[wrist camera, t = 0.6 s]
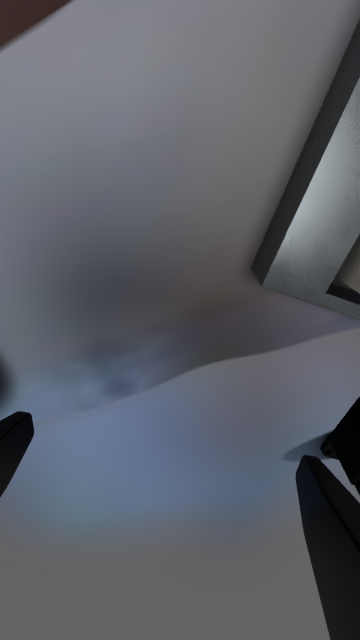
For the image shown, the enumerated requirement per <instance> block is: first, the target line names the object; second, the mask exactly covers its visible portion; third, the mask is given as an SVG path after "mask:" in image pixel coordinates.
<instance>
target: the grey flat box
mask: <svg viewBox="0 0 360 640" xmlns="http://www.w3.org/2000/svg"><path fill="white" fill-rule="evenodd" d="M359 234H360V20H359V23H358V25H357V27H356V29H355V32H354V34H353V36H352V39H351V41H350V43H349V45H348V48H347V50H346V52H345V55H344V57H343V59H342V61H341V64H340V66H339V68H338V71H337V73H336V75H335V77H334V80H333V82H332V84H331V87H330V89H329V91H328V93H327V96H326V98H325V100H324V102H323V105H322V107H321V109H320V112H319V114H318V116H317V118H316V121H315V123H314V125H313V128H312V130H311V132H310V134H309V137H308V139H307V141H306V144H305V146H304V148H303V150H302V153H301V155H300V157H299V159H298V162H297V164H296V166H295V169H294V171H293V173H292V175H291V178H290V180H289V182H288V185H287V187H286V189H285V191H284V194H283V196H282V198H281V201H280V203H279V205H278V207H277V210H276V212H275V214H274V216H273V219H272V221H271V223H270V226H269V228H268V230H267V232H266V235H265V237H264V239H263V242H262V244H261V246H260V248H259V251H258V253H257V255H256V258H255V260H254V262H253V264H252V267H251V269H252V271H253V272H254V274H255V276H256V278H257V279H258V281H259V283H260V285H261V286H262V287H265V288H268V289H271V290H273V291H276V292H279V293H282V294H285V295H288V296H291V297H294V298H297V299H300V300H303V301H306V302H309V303H312V304H315V305H318V306H320V307H323V308H326V309H329V310H332V311H335V312H338V313H341V314H344V315H347V316H350V317H353V318H356V319H359V320H360V294H359V293H358V292H355V291H352V290H349V289H346V288H343V287H341V286H338V285H335V284H332V281H333V279H334V277H335V276H336V274H337V272H338V271H339V269H340V267H341V265H342V264H343V262H344V260H345V258H346V257H347V255H348V253H349V252H350V250H351V248H352V246H353V245H354V243H355V241H356V239H357V238H358V236H359Z"/></svg>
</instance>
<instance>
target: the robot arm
mask: <svg viewBox="0 0 360 640" xmlns="http://www.w3.org/2000/svg"><path fill="white" fill-rule="evenodd" d="M33 435H34V427H33V421H32V415H31V414H30V413H28V412H21V411H18V412H15V413H14V414H12V415H10V416H8V417H6V418H4V419H2V420H1V421H0V497H1V496H2V494H3V492H4V491H5V489H6V488H7V486H8V484H9V483H10V481H11V479H12V477H13V475H14V473H15V471H16V469H17V467H18V465H19V463H20V461H21V460H22V458H23V456H24V454H25V452H26V450H27V448H28V446H29V444H30V442H31V440H32V438H33ZM321 451H322V454H323V455H325V456H328V457H331V458H334V459H337V460H339V461H340V463H341V465H342V467H343V469H344V471H345V473H346V475H347V477H348V479H349V481H350V483H351V484H352V485H355V487H356V489H357V491H358V493H359V495H360V397H359V398H358V399H357V400H356V402H355V403H354V404H353V406H352V407H351V408H350V410H349V411H348V412H347V413H346V415H345V416H344V417H343V419H342V420H341V421H340V423H339V424H338V425H337V426H336V428H335V429H334V430H333V432H332V433H331V434H330V436H329V437H328V438H327V439H326V441H325V442H324V443H323V445H322V446H321ZM296 484H297V491H298V498H299V505H300V511H301V518H302V525H303V530H304V535H305V540H306V544H307V548H308V552H309V556H310V560H311V564H312V568H313V572H314V576H315V580H316V584H317V588H318V592H319V596H320V600H321V604H322V608H323V612H324V616H325V619H326V624H327V628H328V631H329V636H330V639H331V640H360V503H359V502H358V501H357V500H356V499H355V498H354V496H352V494H351V493H350V492H349V491H348V490H347V489H346V488H345V487H344V486H343V485H342V484H341V482H340V481H339V480H338V479H337V478H336V477H335V476H334V475H333V474H332V472H331V471H330V470H329V469H328V468H327V467H326V466H325V465H324V464H323V463H322V462H321V460H320V459H319V458H317V457H315V456H309V455H303V456H302V458H301V461H300V464H299V466H298V469H297V471H296Z"/></svg>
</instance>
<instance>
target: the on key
mask: <svg viewBox="0 0 360 640" xmlns="http://www.w3.org/2000/svg"><path fill="white" fill-rule="evenodd" d="M335 278H337V279H338V280H340V281H341V282H343V283H344V284H346V285H347V286H349V287H350V288H352V289H353V290H355V291H356V292H358V293H359V294H360V234H359V236H358V238H357V239H356V241H355V243H354V245H353V246H352V248H351V250H350V252H349V253H348V255H347V257H346V258H345V260H344V262H343V264H342V265H341V267H340V269H339V271H338V272H337V274H336V276H335Z"/></svg>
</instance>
